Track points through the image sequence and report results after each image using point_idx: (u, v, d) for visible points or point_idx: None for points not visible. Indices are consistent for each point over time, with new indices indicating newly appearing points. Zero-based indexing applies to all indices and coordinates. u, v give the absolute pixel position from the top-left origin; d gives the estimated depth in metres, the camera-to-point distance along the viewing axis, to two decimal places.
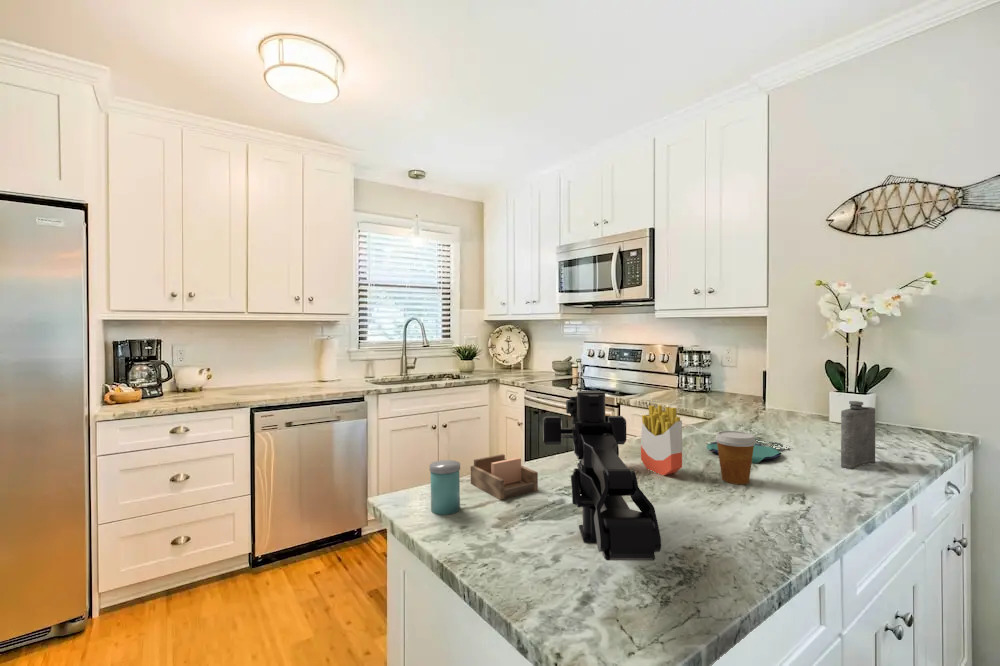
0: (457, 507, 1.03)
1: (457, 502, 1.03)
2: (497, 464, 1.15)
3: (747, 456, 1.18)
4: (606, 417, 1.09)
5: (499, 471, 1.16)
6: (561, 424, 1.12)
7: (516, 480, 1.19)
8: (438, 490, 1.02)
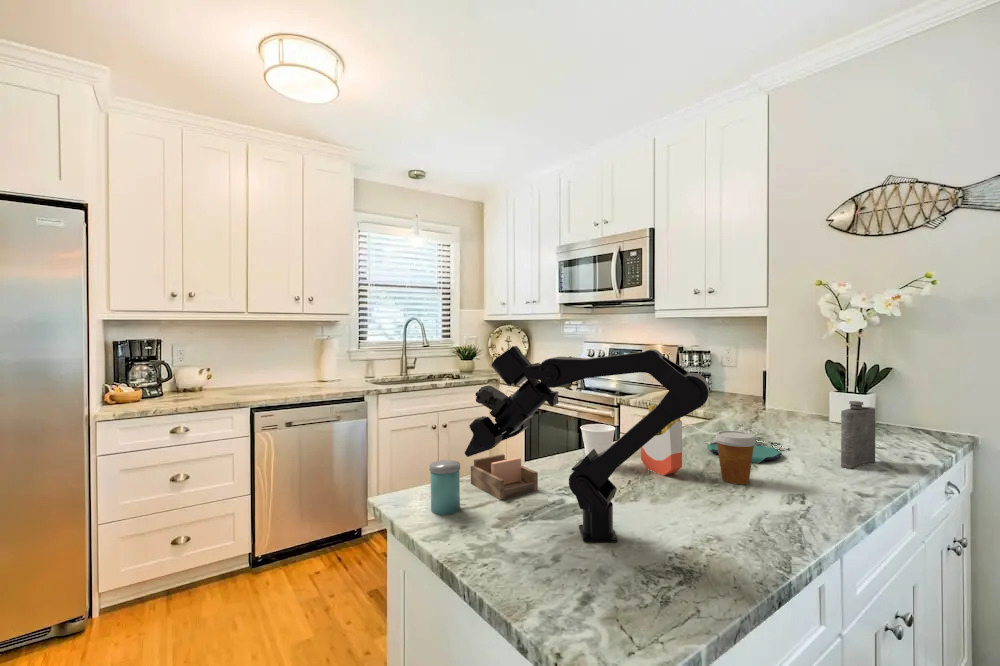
0: (457, 507, 1.03)
1: (457, 502, 1.03)
2: (497, 464, 1.15)
3: (747, 456, 1.18)
4: None
5: (499, 471, 1.16)
6: None
7: (516, 480, 1.19)
8: (438, 490, 1.02)
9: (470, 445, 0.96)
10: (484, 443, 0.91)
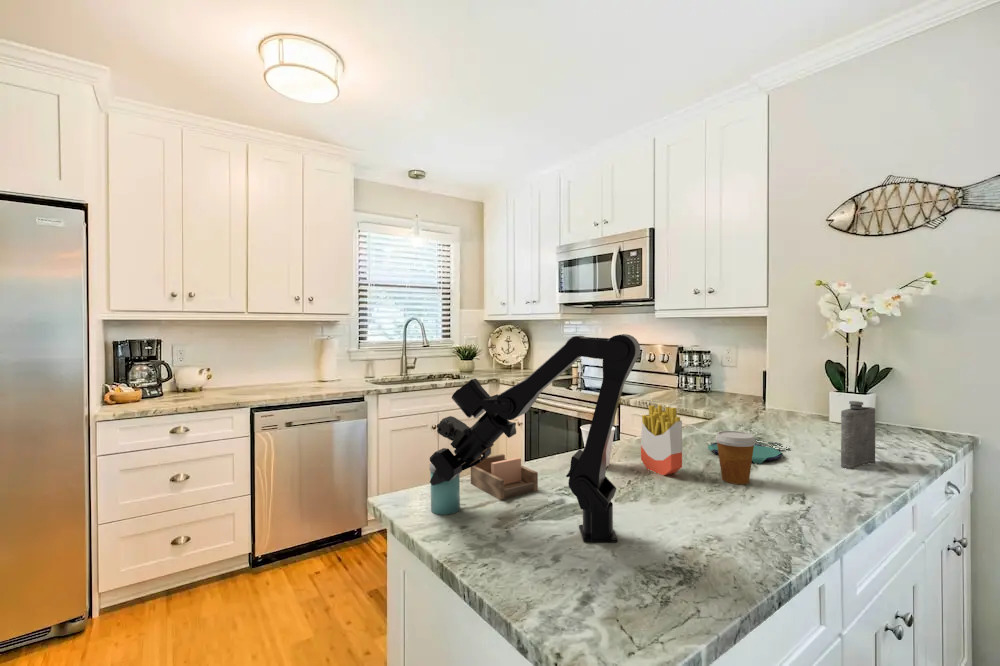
0: (457, 507, 1.03)
1: (457, 502, 1.03)
2: (497, 464, 1.15)
3: (747, 456, 1.18)
4: None
5: (499, 471, 1.16)
6: None
7: (516, 480, 1.19)
8: (438, 490, 1.02)
9: (435, 474, 1.01)
10: (443, 475, 0.94)
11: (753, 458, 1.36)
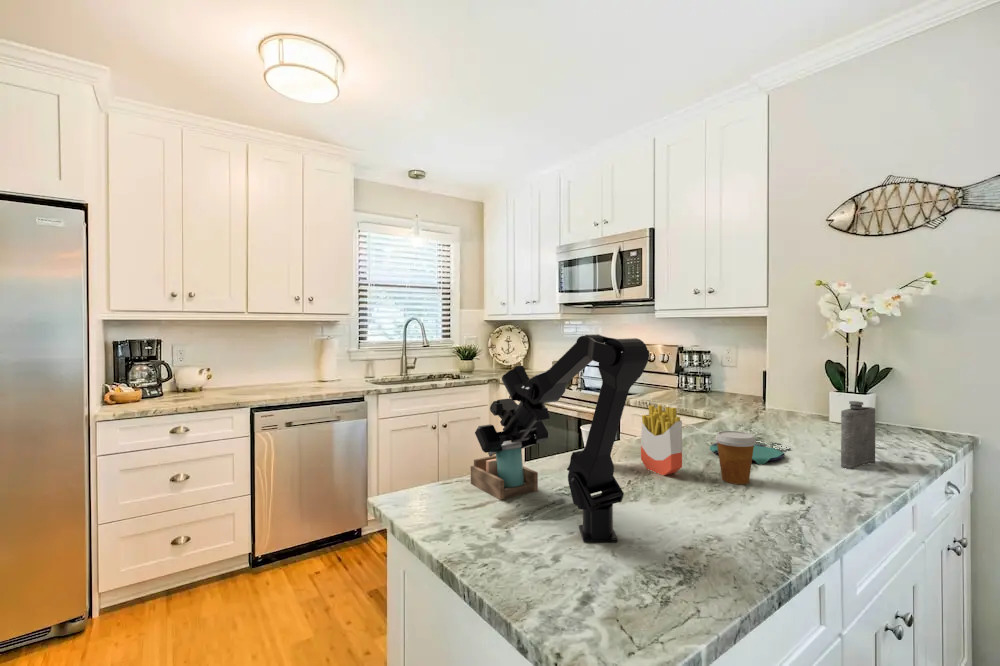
0: (517, 482, 1.13)
1: (517, 477, 1.13)
2: (492, 462, 1.17)
3: (748, 456, 1.18)
4: None
5: (494, 469, 1.18)
6: None
7: None
8: (498, 464, 1.14)
9: None
10: (482, 446, 1.09)
11: (756, 459, 1.35)
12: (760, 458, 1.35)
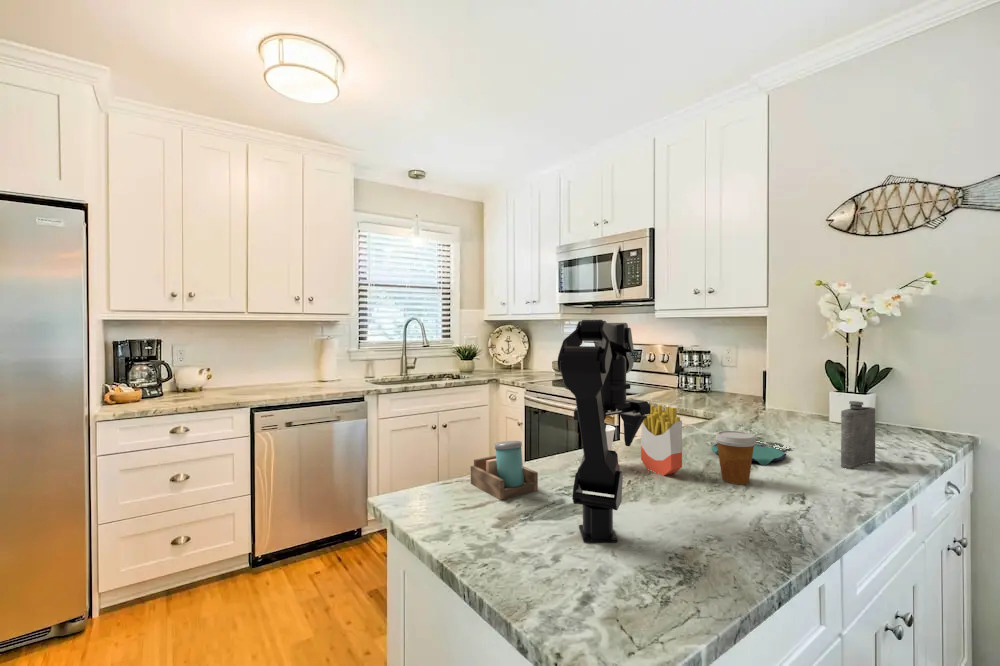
0: (517, 482, 1.13)
1: (517, 477, 1.13)
2: (492, 462, 1.17)
3: (747, 456, 1.18)
4: (620, 413, 1.10)
5: (494, 469, 1.18)
6: None
7: None
8: (498, 464, 1.14)
9: None
10: None
11: (759, 459, 1.35)
12: (763, 459, 1.35)
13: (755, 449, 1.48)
